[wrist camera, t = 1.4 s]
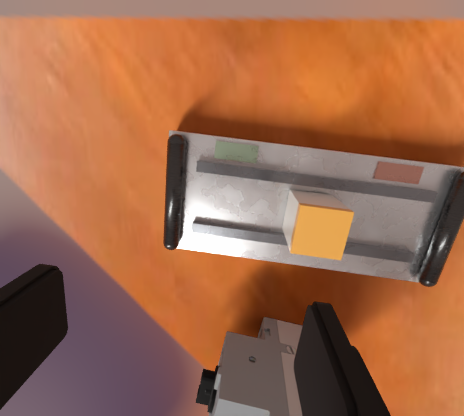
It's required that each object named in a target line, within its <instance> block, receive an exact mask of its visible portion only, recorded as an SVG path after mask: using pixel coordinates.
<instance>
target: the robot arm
mask: <svg viewBox="0 0 464 416" xmlns="http://www.w3.org/2000/svg"><path fill="white" fill-rule="evenodd" d="M67 330H68V324H67V313H66V304H65V293H64V283H63V274H62V272H61V271H60V270H59V268H58V267H57V266H52V265H45V264H39V265H37V266H35V267H33V268H32V269H30V270H29V271H27V272H26V273H24V274H22V275H21V276H19V277H18V278H16V279H14V280H13V281H11V282H10V283H8V284H7V285H5V286H3V287H2V288H0V409H1V408H2V407H3V406H4V405H5V404H6V403H7V401H8V400H9V399H10V398H11V397H12V396H13V395H14V394H15V393H16V391H17V390H18V389H19V388H20V387H21V386H22V385H23V384H24V382H25V381H26V380H27V379H28V378H29V377H30V376H31V375H32V373H33V372H34V371H35V370H36V369H37V368H38V367H39V366H40V364H41V363H42V362H43V361H44V360H45V359H46V358H47V357H48V355H49V354H50V353H51V352H52V351H53V350H54V349H55V347H56V346H57V345H58V344H59V343H60V342H61V341H62V340H63V339H64V337H65V335H66V333H67ZM294 374H295V379H296V384H297V390H298V395H299V400H300V405H301V410H302V416H391V415H390V413H389V411H388V409H387V407H386V405H385V403H384V401H383V399H382V397H381V395H380V393H379V391H378V389H377V387H376V385H375V383H374V381H373V379H372V377H371V375H370V373H369V371H368V369H367V367H366V365H365V363H364V361H363V359H362V357H361V355H360V353H359V352H358V350H357V349H356V348H355V347H354V346H351V345H350V342H349V340H348V338H347V336H346V334H345V332H344V330H343V328H342V326H341V324H340V322H339V320H338V318H337V315H336V313H335V311H334V309H333V307H332V305H331V304H329V303H322V302H314V303H313V304H312V305H308V307H307V310H306V314H305V318H304V322H303V326H302V330H301V334H300V338H299V343H298V347H297V351H296V355H295V359H294Z"/></svg>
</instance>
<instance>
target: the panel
mask: <svg viewBox="0 0 464 416" xmlns="http://www.w3.org/2000/svg"><path fill="white" fill-rule="evenodd" d="M290 189H291V190H298V191H306V192H314V193H321V194H329V195H332V196H334V197H335V198H336V199H338V200H339V201H340V202H342V203H343V204H344V205H345V206H347V207H348V208H349V209H351V210H352V211H353V212H354V216H353V220H352V223H351V227H350V230H349V234H348V238H347V241H346V245H345V248H344V252H343V256H342V259H341V260H335V259H328V258H320V257H313V256H306V255H299V254H292V253H290V250H289V247H288V244H287V241H286V238H285V235H284V232H283V229H282V226H283V221H284V216H285V211H286V206H287V200H288V195H289V190H290ZM463 219H464V167H461V166H455V165H447V164H439V163H431V162H423V161H415V160H407V159H399V158H391V157H383V156H375V155H367V154H359V153H351V152H343V151H335V150H327V149H319V148H312V147H304V146H296V145H288V144H280V143H272V142H264V141H256V140H248V139H240V138H232V137H224V136H216V135H208V134H200V133H192V132H184V131H175V130H169V139H168V145H167V169H166V193H165V217H164V241H163V243H164V246H165V247H166V248H167V249H169V250H174V249H176V248H181V249H188V250H195V251H202V252H209V253H216V254H223V255H230V256H237V257H244V258H251V259H258V260H265V261H272V262H279V263H286V264H293V265H300V266H307V267H314V268H321V269H328V270H335V271H342V272H349V273H356V274H363V275H370V276H377V277H384V278H391V279H399V280H406V281H413V282H420V283H421V284H422V285H424V286H427V287H432V286H434V285H436V284H437V282H438V279H439V277H440V275H441V272H442V270H443V267H444V265H445V263H446V260H447V258H448V255H449V253H450V251H451V248H452V246H453V243H454V241H455V239H456V236H457V234H458V231H459V229H460V227H461V224H462V222H463Z"/></svg>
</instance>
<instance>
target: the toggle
mask: <svg viewBox="0 0 464 416" xmlns="http://www.w3.org/2000/svg"><path fill="white" fill-rule="evenodd" d="M353 216H354V212H353V211H352V210H351V209H349V208H348V207H347V206H345V205H344V204H343V203H342V202H340V201H339V200H338V199H336V198H335V197H334V196H332V195H329V194H321V193H314V192H306V191H298V190H291V189H290V190H289V195H288V200H287V206H286V211H285V216H284V221H283V226H282V229H283V232H284V235H285V238H286V241H287V244H288V247H289V250H290V253H292V254H299V255H306V256H313V257H320V258H328V259H335V260H341V259H342V256H343V252H344V248H345V245H346V241H347V238H348V234H349V230H350V227H351V223H352V220H353Z"/></svg>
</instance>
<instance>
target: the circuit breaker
mask: <svg viewBox="0 0 464 416" xmlns="http://www.w3.org/2000/svg"><path fill="white" fill-rule="evenodd" d="M301 330H302V325H297V324H293V323H289V322H285V321H280V320H276V319H272V318H267V317H264V318H263V321H262V324H261V328H260V331H259V334H258V337H257V338H255V337H250V336H246V335H241V334H237V333H233V332H228V331H227V333H226V337H225V340H224V344H223V348H222V352H221V357H220V360H219V364H218V365H217V366H216V369H215V371H210V370H206V369H203V372H202V377H201V384H200V385H199V389H198V394H197V399H196V403H200V404H204V405H208V412H209V416H302V410H301V405H300V400H299V395H298V390H297V384H296V379H295V374H294V359H295V355H296V351H297V347H298V343H299V338H300V334H301Z"/></svg>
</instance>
